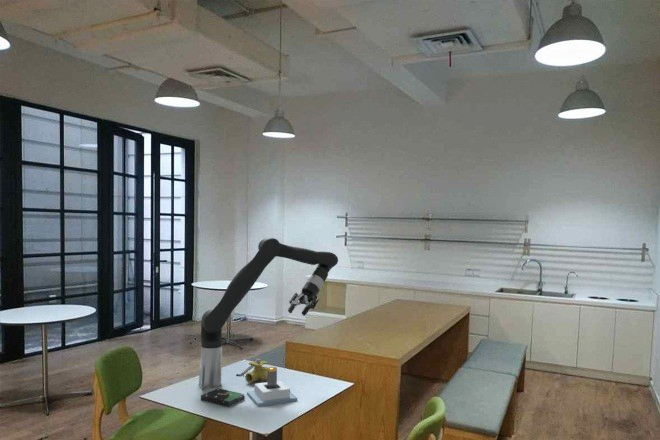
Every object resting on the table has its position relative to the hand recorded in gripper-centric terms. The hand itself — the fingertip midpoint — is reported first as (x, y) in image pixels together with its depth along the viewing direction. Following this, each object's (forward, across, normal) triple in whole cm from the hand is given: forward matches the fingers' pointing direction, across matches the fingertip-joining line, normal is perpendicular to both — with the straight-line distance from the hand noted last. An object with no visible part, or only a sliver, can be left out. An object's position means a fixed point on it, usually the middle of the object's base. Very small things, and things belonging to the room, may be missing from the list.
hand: (296, 313), depth 212 cm
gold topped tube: (+35, +4, +9) cm, 36 cm away
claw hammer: (+23, -31, +24) cm, 46 cm away
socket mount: (+36, +4, +10) cm, 38 cm away
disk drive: (+47, -9, 0) cm, 48 cm away
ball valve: (+28, -15, +19) cm, 37 cm away
